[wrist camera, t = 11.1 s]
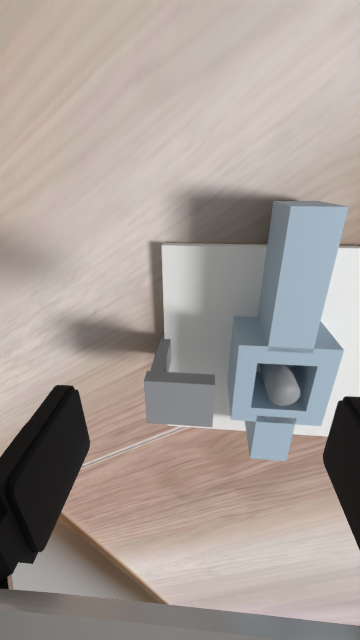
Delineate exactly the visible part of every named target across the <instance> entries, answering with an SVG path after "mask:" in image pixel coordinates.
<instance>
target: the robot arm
mask: <svg viewBox="0 0 360 640" xmlns="http://www.w3.org/2000/svg"><path fill="white" fill-rule="evenodd" d="M89 446H90V440H89V435H88V431H87V426H86V422H85V417H84V413H83V409H82V404H81V400H80V395H79V392H78V390H75V389H74V387H73V386H68V385H57V386H55V387H54V388H53V390H52V391H51V392H50V394H49V395H48V396H47V398H46V399H45V400H44V402H43V403H42V404H41V406H40V407H39V408H38V409H37V411H36V412H35V413H34V415H33V416H32V417H31V419H30V420H29V421H28V422H27V423H26V424H25V426H24V427H23V428H22V429H21V431H20V432H19V433H18V435H17V436H16V437H15V439H14V440H13V441H12V442H11V444H10V445H9V446H8V448H7V449H6V450H5V452H4V453H3V454H2V456H1V457H0V640H360V626H354V625H346V624H337V623H328V622H319V621H311V620H302V619H293V618H284V617H275V616H267V615H258V614H249V613H240V612H230V611H221V610H212V609H203V608H193V607H184V606H175V605H165V604H156V603H147V602H137V601H127V600H118V599H108V598H98V597H88V596H79V595H69V594H59V593H48V592H34V591H22V590H13V582H12V573H13V572H14V570H15V568H16V566H17V564H18V562H20V563H31V564H33V562H34V560H35V558H36V556H37V554H38V552H42V551H43V550H44V548H45V546H46V544H47V542H48V540H49V537H50V535H51V533H52V531H53V529H54V527H55V524H56V522H57V520H58V518H59V515H60V513H61V511H62V509H63V506H64V504H65V502H66V500H67V498H68V495H69V493H70V491H71V489H72V486H73V484H74V482H75V480H76V477H77V475H78V473H79V471H80V468H81V466H82V464H83V462H84V460H85V457H86V455H87V453H88V450H89ZM323 461H324V465H325V468H326V470H327V472H328V475H329V477H330V480H331V482H332V484H333V487H334V489H335V492H336V494H337V496H338V499H339V501H340V504H341V506H342V509H343V511H344V513H345V516H346V518H347V521H348V523H349V525H350V528H351V530H352V533H353V535H354V537H355V540H356V542H357V545H358V547H359V550H360V397H352V396H345V397H344V398H343V400H340V401H338V403H337V407H336V410H335V414H334V417H333V421H332V424H331V428H330V432H329V435H328V439H327V442H326V446H325V449H324V453H323Z"/></svg>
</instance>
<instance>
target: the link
mask: <svg viewBox="0 0 360 640" xmlns="http://www.w3.org/2000/svg"><path fill="white" fill-rule="evenodd" d="M347 211H348V207H347V206H342V205H336V204H330V203H325V202H319V201H273V207H272V214H271V222H270V229H269V237H268V244H267V251H266V259H265V266H264V274H263V281H262V288H261V296H260V303H259V310H258V317H242V316H234V318H233V328H232V339H231V350H230V360H229V371H228V382H227V384H228V394H229V405H230V415H231V420H238V421H245V427H246V434H247V440H248V447H249V454H250V458H254V459H267V460H279V461H286V460H287V455H288V451H289V447H290V443H291V439H292V435H293V431H294V427H295V424H296V425H311V426H321V425H322V422H323V419H324V415H325V412H326V409H327V405H328V402H329V399H330V395H331V392H332V389H333V385H334V382H335V379H336V376H337V372H338V369H339V366H340V362H341V359H342V356H343V352H344V349H343V348H342V347H341V346H340V344H339V343H338V342H337V341H336V339H335V338H334V337H333V336H332V334H331V333H330V332H329V331H328V329H327V328H326V327H325V326H324V324H323V323H322V322H321V317H322V313H323V309H324V305H325V301H326V297H327V293H328V288H329V284H330V280H331V276H332V272H333V268H334V264H335V260H336V256H337V252H338V248H339V244H340V240H341V235H342V231H343V227H344V223H345V219H346V215H347ZM257 363H263V364H282V365H292V367H291V370H292V373H293V375H294V377H295V379H296V382H297V384H298V386H299V389H300V397H299V398H298V400H297V401H296V402H294V403H293V404H290V405H287V406H279V405H276V404H274V403H272V402H271V401H270V400H269V398H268V394H267V390H266V387H265V383H264V380H263V376H262V372H256V369H257Z"/></svg>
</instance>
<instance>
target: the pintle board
mask: <svg viewBox="0 0 360 640" xmlns="http://www.w3.org/2000/svg"><path fill="white" fill-rule="evenodd" d="M266 251H267V244H204V243H163V244H162V275H163V307H164V334H162V335H161V338H160V342H159V345H158V348H157V351H156V355H155V358H154V361H153V364H152V368H151V371H147V373H146V376H145V379H144V389H145V402H146V416H147V423H156V424H167V425H168V426H183V427H197V428H212V429H227V430H241V431H246V427H245V421H238V420H231V415H230V405H229V394H228V384H227V382H228V371H229V360H230V350H231V339H232V328H233V318H234V316H242V317H258V310H259V303H260V296H261V288H262V281H263V274H264V266H265V259H266ZM321 322H322V323H323V324H324V326H325V327H326V328H327V329H328V331H329V332H330V333H331V334H332V336H333V337H334V338H335V339H336V341H337V342H338V343H339V344H340V346H341V347H342V348H343V349H344V352H343V356H342V359H341V362H340V366H339V369H338V372H337V376H336V379H335V382H334V385H333V389H332V392H331V395H330V399H329V402H328V405H327V409H326V412H325V415H324V419H323V422H322V425H321V426H311V425H296V424H295V427H294V431H293V434H300V435H314V436H328V435H329V432H330V428H331V424H332V421H333V417H334V414H335V410H336V407H337V403H338V401H340V400H343V398H344V397H345V396H352V397H360V246H340V245H339V248H338V252H337V256H336V260H335V264H334V268H333V272H332V276H331V280H330V284H329V288H328V293H327V297H326V301H325V305H324V309H323V313H322V317H321ZM291 367H292V365H282V364H263V363H257V369H256V372H262V376H263V380H264V383H265V387H266V390H267V394H268V398H269V400H270V401H271V402H272V403H274V404H276V405H279V406H287V405H290V404H293V403H294V402H296V401H297V400H298V398H299V397H300V389H299V386H298V384H297V382H296V379H295V377H294V375H293V373H292V370H291Z"/></svg>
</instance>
